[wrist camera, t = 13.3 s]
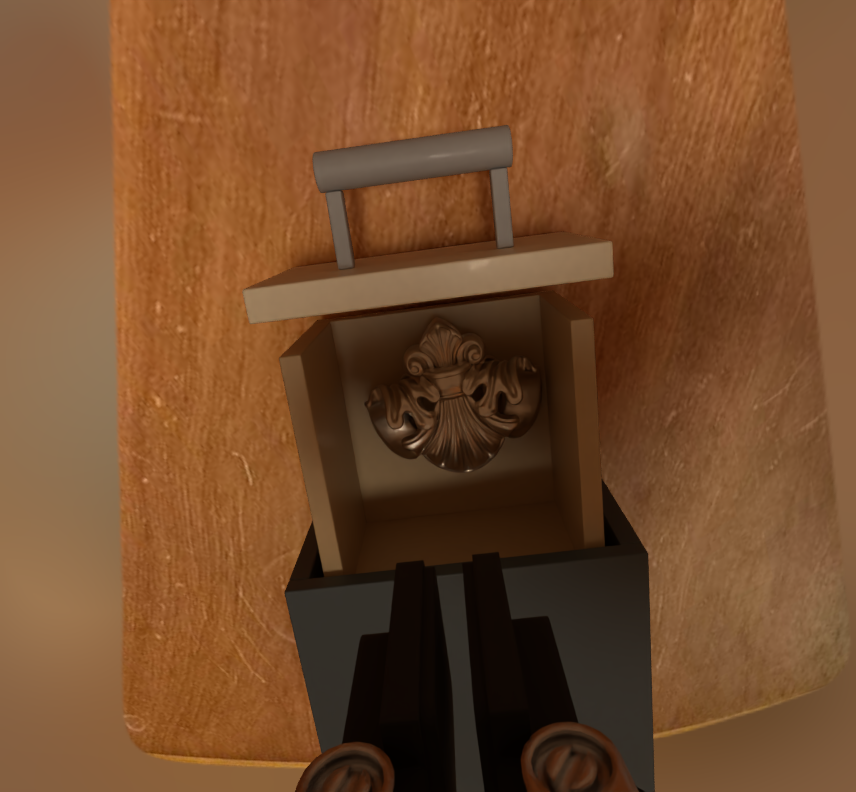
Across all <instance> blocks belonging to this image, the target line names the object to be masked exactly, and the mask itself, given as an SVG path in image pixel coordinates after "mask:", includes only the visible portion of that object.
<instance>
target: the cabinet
mask: <svg viewBox="0 0 856 792" xmlns="http://www.w3.org/2000/svg"><path fill="white" fill-rule="evenodd" d="M601 480H602V499H603V519H604V539H605V547H597V548H588V549H579V550H570V551H560V552H551V553H542V554H533V555H524V556H514V557H505V558H500V561H501V566H502V572H503V577H504V582H505V587H506V593H507V598H508V603H509V609H510V614H511V619H520V618H530V617H539V616H548V617H549V620H550V623H551V626H552V630H553V634H554V637H555V641H556V644H557V648H558V651H559V655H560V658H561V662H562V666H563V669H564V673H565V676H566V680H567V683H568V687H569V691H570V694H571V698H572V701H573V705H574V708H575V712H576V716H577V719H578V723H580V724H585V725H588V726H590V727H592V728H594V729H597V730H599V731H600V732H602V733H603V734H604V735H605V736H607V737H608V738H609V739H610V740H611V741H612V742H613V743H614V745H615V746H616V748H617V749H618V751H619V752H620V754H621V756H622V758H623V760H624V762H625V764H626V766H627V768H628V770H629V772H630V774H631V776H632V778H633V781H634V783H635V785H636V786H637V787H638V788H640V789H642V790H643V791H645V792H655V789H654V788H655V786H654V750H653V712H652V675H651V638H650V602H649V565H648V553H647V551H646V549H645V548H644V546H643V545H642V543H641V541H640V539H639V538H638V536H637V534H636V533H635V531H634V530H633V528H632V526H631V525H630V523H629V522H628V520H627V518H626V517H625V515H624V513H623V512H622V510H621V509H620V507H619V505H618V504H617V502H616V500H615V499H614V497H613V496H612V494H611V492H610V491H609V489H608V488H607V486H606V484H605V483H604V481H603V479H602V478H601ZM469 562H473V561H468V562H459V563H450V564H441V565H432V566H435V570H436V576H437V583H438V590H439V597H440V604H441V611H442V618H443V624H444V631H445V638H446V645H447V652H448V659H449V666H450V673H451V680H452V691H453V713H454V739H455V765H456V790H457V792H485V791H484V784H483V777H482V769H481V762H480V754H479V747H478V740H477V732H476V724H475V715H474V705H473V694H472V681H471V669H470V656H469V644H468V631H467V619H466V606H465V593H464V581H463V568H462V563H469ZM432 566H425V567H432ZM394 578H395V570H386V571H376V572H367V573H358V574H349V575H340V576H330V577H324V573H323V568H322V563H321V559H320V554H319V549H318V544H317V539H316V535H315V530H314V525H313V521H312V523H311V526H310V528H309V531H308V533H307V536H306V539H305V541H304V544H303V546H302V549H301V552H300V554H299V557H298V559H297V562H296V565H295V567H294V570H293V572H292V575H291V578H290V581H289V583H288V585H287V588H286V590H285V597H286V601H287V606H288V610H289V614H290V619H291V623H292V627H293V632H294V636H295V640H296V644H297V649H298V653H299V657H300V662H301V666H302V670H303V675H304V679H305V683H306V688H307V692H308V696H309V700H310V705H311V709H312V713H313V718H314V722H315V726H316V731H317V735H318V739H319V743H320V748H321V752H322V753H323V752H325V751H326V750H328V749H330V748H332V747H335V746H338V745H340V744H342V740H343V735H344V729H345V723H346V717H347V711H348V705H349V699H350V694H351V688H352V682H353V676H354V670H355V664H356V658H357V653H358V647H359V642H360V638H361V636H362V635H366V634H376V633H385V632H389V626H390V616H391V607H392V597H393V588H394Z"/></svg>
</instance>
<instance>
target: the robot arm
mask: <svg viewBox="0 0 856 792" xmlns="http://www.w3.org/2000/svg"><path fill="white" fill-rule="evenodd" d="M472 560H473V562H469V563H462V568H463V581H464V593H465V606H466V619H467V631H468V644H469V656H470V669H471V681H472V694H473V705H474V715H475V724H476V732H477V740H478V747H479V754H480V762H481V769H482V777H483V784H484V791H485V792H645V791H643V790H642V789H640V788H638V787H637V786H636V785H635V783H634V781H633V778H632V776H631V774H630V772H629V770H628V768H627V766H626V764H625V762H624V760H623V758H622V756H621V754H620V752H619V751H618V749H617V748H616V746H615V745H614V743H613V742H612V741H611V740H610V739H609V738H608V737H607V736H605V735H604V734H603V733H602V732H600V731H599V730H597V729H594V728H592V727H590V726H588V725H585V724H580V723H578V719H577V716H576V712H575V708H574V705H573V701H572V698H571V694H570V691H569V687H568V683H567V680H566V676H565V673H564V669H563V666H562V662H561V658H560V655H559V651H558V648H557V644H556V641H555V637H554V634H553V630H552V626H551V623H550V620H549V617H548V616H539V617H530V618H520V619H511V614H510V609H509V603H508V598H507V593H506V587H505V582H504V577H503V572H502V566H501V561H500V556H499V552H492V553H483V554H474V555H472ZM295 792H457V790H456V765H455V739H454V713H453V691H452V680H451V673H450V666H449V659H448V652H447V645H446V638H445V631H444V624H443V618H442V611H441V604H440V597H439V590H438V583H437V576H436V570H435V566H432V567H425V564H424V560H419V561H410V562H400V563H396V569H395V578H394V588H393V597H392V607H391V616H390V626H389V632H385V633H376V634H366V635H362V636H361V638H360V642H359V647H358V653H357V658H356V664H355V670H354V676H353V682H352V688H351V694H350V699H349V705H348V711H347V717H346V723H345V729H344V735H343V740H342V744H340V745H338V746H335V747H332V748H330V749H328V750H326V751H325V752H323V753H322V754H321V755H319V756H318V757H316V758H315V759H314V760H313V761H312V762H311V764H310V765H309V766H308V767H307V768H306V769H305V771H304V773H303V775H302V776H301V778H300V780H299V782H298V785H297V787H296V790H295Z"/></svg>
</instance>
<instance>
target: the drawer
mask: <svg viewBox="0 0 856 792" xmlns="http://www.w3.org/2000/svg"><path fill="white" fill-rule="evenodd" d="M512 161H513V149H512V138H511V132H510V128H509V126H508V125H504V126H497V127H490V128H483V129H476V130H469V131H462V132H454V133H447V134H440V135H433V136H426V137H419V138H412V139H405V140H398V141H391V142H384V143H377V144H370V145H363V146H356V147H349V148H342V149H335V150H328V151H321V152H315V153H313V169H314V175H315V180H316V183H317V186H318V189H319V191H320V192H321V193H326V192H327V193H326V200H327V206H328V212H329V218H330V224H331V230H332V236H333V241H334V247H335V253H336V259H337V262H330V263H323V264H315V265H308V266H300V267H294V268H291V269H289V270H287V271H284V272H282V273H280V274H278V275H275V276H273V277H271V278H268V279H266V280H264V281H262V282H259V283H257V284H255V285H252V286H250V287H248V288H246V289H244V290H243V296H244V301H245V305H246V310H247V315H248V319H249V323H250V324H256V323H264V322H272V321H279V320H287V319H295V318H303V317H310V316H318V315H326V314H333V313H341V312H349V311H357V310H364V309H372V308H380V307H388V306H395V305H403V304H411V303H419V302H426V301H434V300H442V299H450V298H457V297H465V296H473V295H481V294H488V293H496V292H504V291H512V290H519V289H527V288H535V287H543V286H550V285H558V284H566V283H573V282H581V281H589V280H597V279H604V278H612V277H613V275H614V270H613V245H612V241H608V240H603V239H598V238H593V237H588V236H583V235H578V234H573V233H568V232H556V233H548V234H541V235H533V236H526V237H518V238H513V232H512V220H511V208H510V197H509V185H508V174H507V167H511V166H512ZM485 170H490V171H489V175H490V186H491V197H492V207H493V218H494V228H495V239H496V241H488V242H481V243H473V244H466V245H458V246H451V247H443V248H436V249H428V250H421V251H413V252H406V253H398V254H391V255H383V256H376V257H368V258H361V259H354V254H353V248H352V242H351V235H350V229H349V223H348V217H347V211H346V205H345V198H344V193H343V191H341V190H348V189H355V188H362V187H370V186H377V185H384V184H391V183H399V182H406V181H413V180H420V179H427V178H435V177H442V176H449V175H456V174H463V173H471V172H478V171H485ZM436 317H438V318H441V319H443V320H445V321H447V322H449V323H450V324H452V325H453V326H454V327H455V328H456V329H457V330H458V331H459V332H460V334H461V335H463V334H466V333H473V334H476V335H478V336H479V337H481V338H482V340H483V341H484V343H485V346H486V355H490V356H493V357H494V358H496V359H497V360H499V361H500V362H501V361H504V360H506V361H509V360H510V359H511V358H512V357H514V356H516V355H521V356H524V357H527V358H529V359H530V361H531V362H532V364H533V365H539V368H540V376H541V382H542V401H541V405H540V409H539V413H538V416H537V418H536V420H535V422H534V424H533V425H532V427H531V428H530V429H529V430H528V431H527V432H526V433H525V434H524V435H523V436H521V437H519V438H515V439H512V438H509V437H507V436H506V438H505V440H504V443H503V445H502V447H501V449H500V450H499V452H498V453H497V455H496V456H495V457H494V458H493V459H492V460H491V461H490V462H489V463H487V464H486V465H484V466H483V467H481V468H480V469H478V470H475V471H472V472H468V473H456V472H451V471H447V470H444V469H441V468H439V467H437V466H435V465H434V464H432V463H431V462H429V461H428V460H427V459H426V458H425V457H424V456H423V455H422V454H420V455H419V457H417V458H416V459H405V458H403V457H400V456H398V455H397V454H395V453H393V452H392V451H391V450H390V449H389V448H388V447H387V446H386V445H385V444H384V442H383V441H382V440H381V438H380V437H379V436H378V434H377V432H376V430H375V428H374V426H373V424H372V422H371V419H370V416H369V413H368V410H367V408H366V407H365V405H364V402H366V401H368V400H369V396H370V393H371V391H372V390H373V389H374V388H375V387H376V386H378V385H380V384H383V385H386V386H388V387H390V386H391V385H392V384H397V383H398V382H399V381H400V379H401V377H402V375H403V374H405V373H406V372H405V371H404V368H403V356H404V353H405V352H406V350H407V349H408V348H409V347H410V346H412V345H415V344H419V343H420V341H421V339H422V337H423V334H424V332H425V330H426V328H427V326H428V325H429V324H430V323H431V322H432V320H433V319H435V318H436ZM279 361H280V366H281V371H282V376H283V381H284V386H285V390H286V395H287V400H288V405H289V410H290V414H291V419H292V424H293V429H294V434H295V438H296V443H297V448H298V453H299V458H300V462H301V467H302V472H303V477H304V482H305V486H306V491H307V496H308V501H309V506H310V511H311V515H312V520H313V525H314V530H315V535H316V539H317V544H318V549H319V554H320V559H321V563H322V568H323V573H324V577H330V576H340V575H349V574H358V573H367V572H376V571H386V570H395V569H396V563H400V562H410V561H419V560H424V564H425V566H432V565H441V564H450V563H459V562H468V561H473V560H472V555H474V554H483V553H492V552H499V556H500V558H505V557H514V556H524V555H533V554H542V553H551V552H560V551H570V550H579V549H588V548H597V547H605V539H604V519H603V499H602V480H601V460H600V440H599V421H598V401H597V381H596V362H595V342H594V322H593V318H592V317H591V316H589V315H588V314H586V313H585V312H583V311H582V310H581V309H579V308H578V307H576V306H575V305H573V304H572V303H571V302H569V301H568V300H566V299H565V298H564V297H562V296H561V295H559V294H558V293H556V292H555V291H554V290H550V291H542V292H535V293H527V294H519V295H511V296H504V297H496V298H488V299H480V300H473V301H465V302H457V303H449V304H442V305H434V306H426V307H418V308H410V309H403V310H395V311H387V312H379V313H372V314H364V315H356V316H348V317H341V318H333V319H325V320H317V321H316V322H315V323H314V324H313V325H312V326H311V327H310V328H309V329H308V330H307V331H306V332H305V333H304V334H303V335H302V336H301V337H300V338H299V339H298V340H297V341H296V342H295V343H294V344H293V345H292V346H291V347H290V348H289V349H288V350H287V351H286V352H285V353H283V354H282V355H281V356H280V357H279ZM482 393H483V390H482V388H481V387H478V388H477V389H476V391H475V393H474V394H473V395H472V396H473V397H474V399H475V400H477V399H479V398H480V397H481V396H482ZM422 402H423V405H424V406H425V408H427V409H433V408H434V404H435V403H431V402H430V401H428V400H427V399H426V398H424V399H423V401H422ZM497 404H498V410H497V412H499V413H500V414H501V399H500V395H499V397H498V400H497ZM416 426H417V425H416ZM417 428H418V427H417Z"/></svg>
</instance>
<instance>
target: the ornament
mask: <svg viewBox="0 0 856 792" xmlns="http://www.w3.org/2000/svg"><path fill="white" fill-rule="evenodd" d="M403 368H404V371H405V372H406V373H405V374H403V375H402V377H401V379H400V381H399V382H398V383H397V384H392V385H391V386H390V387H388V386H386V385H383V384H380V385H378V386H376V387H375V388H374V389H373V390H372V391H371V393H370V396H369V400H368V401H366V402H364V405H365V407H366V408H367V410H368V413H369V416H370V419H371V422H372V424H373V426H374V428H375V430H376V432H377V434H378V436H379V437H380V438H381V440H382V441H383V442H384V444H385V445H386V446H387V447H388V448H389V449H390V450H391V451H392V452H393V453H395V454H397V455H398V456H400V457H403V458H405V459H416V458H417V457H419V455H420V454H422V455H423V456H424V457H425V458H426V459H427V460H428V461H429V462H431V463H432V464H434V465H435V466H437V467H439V468H441V469H444V470H447V471H451V472H456V473H468V472H472V471H475V470H478V469H480V468H481V467H483V466H484V465H486V464H487V463H489V462H490V461H491V460H492V459H493V458H494V457H495V456H496V455H497V453H498V452H499V450H500V449H501V447H502V445H503V443H504V440H505V438H506V436H507V437H509V438H512V439H515V438H519V437H521V436H523V435H524V434H525V433H526V432H527V431H528V430H529V429H530V428H531V427H532V425H533V424H534V422H535V420H536V418H537V416H538V413H539V409H540V405H541V401H542V382H541V376H540V368H539V365H533V364H532V362H531V361H530V359H529V358H527V357H524V356H521V355H516V356H514V357H512V358H511V359H510V360H509V361H506V360H504V361H501V362H500V361H499V360H497V359H496V358H494V357H493V356H490V355H486V346H485V343H484V341H483V340H482V338H481V337H479V336H478V335H476V334H473V333H466V334H463V335H461V334H460V332H459V331H458V330H457V329H456V328H455V327H454V326H453V325H452V324H450V323H449V322H447V321H445V320H443V319H441V318H438V317H436V318H435V319H433V320H432V322H431V323H430V324H429V325H428V326H427V328H426V330H425V332H424V334H423V337H422V339H421V341H420V343H419V344H415V345H412V346H410V347H409V348H408V349H407V350H406V352H405V353H404V356H403ZM478 387H481V388H482V390H483V393H482V396H481V397H480V398H479V399H477V400H475V399H474V397H473V396H472V395H473V394H474V393H475V391H476V389H477V388H478ZM499 395H500V399H501V414H500V413H499V412H497V410H498V404H497V400H498V397H499ZM424 398H426V399H427V400H428V401H430V402H431V403H435V404H434V408H433V409H427V408H425V406H424V405H423V402H422V401H423V399H424ZM416 425H417V426H416ZM417 427H418V428H417Z"/></svg>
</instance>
